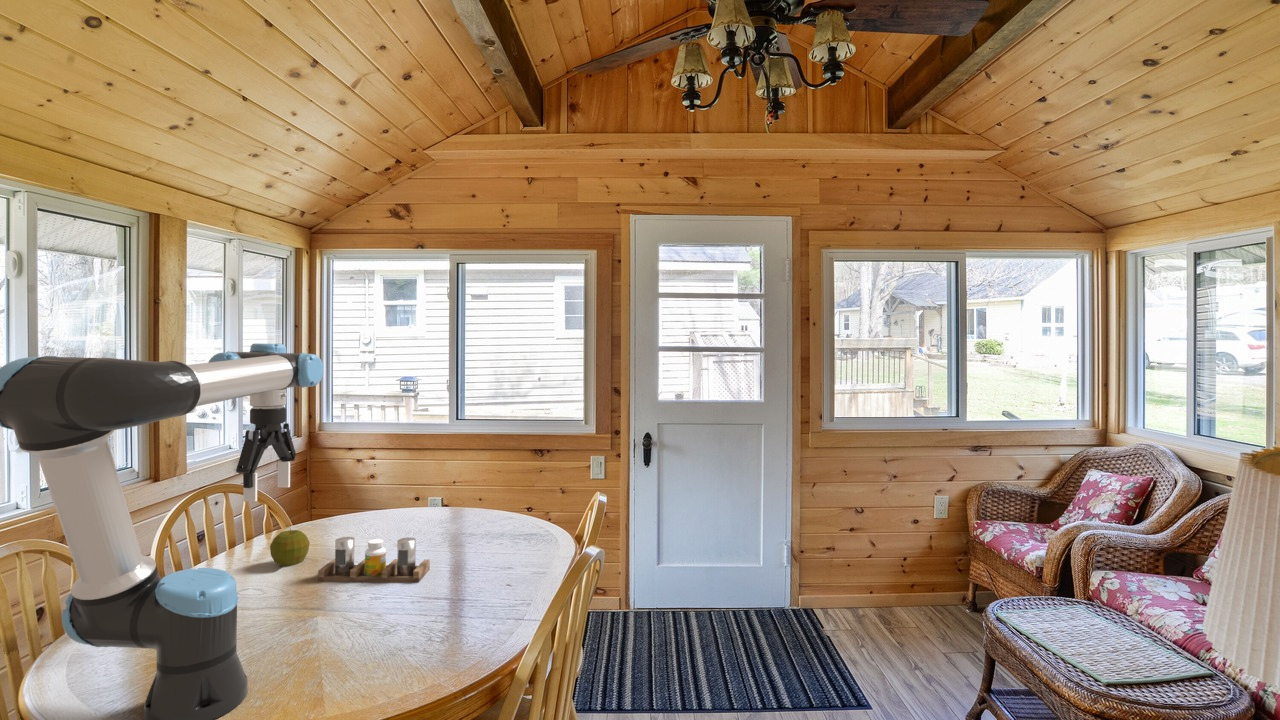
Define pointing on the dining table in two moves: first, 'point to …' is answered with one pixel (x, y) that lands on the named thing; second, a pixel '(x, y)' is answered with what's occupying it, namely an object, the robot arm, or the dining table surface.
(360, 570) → the wooden spice rack
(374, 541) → the supplement bottle
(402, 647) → the dining table surface
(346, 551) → the shiny gray cylinder
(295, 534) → the apple
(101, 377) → the robot arm
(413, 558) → the glass spice jar
